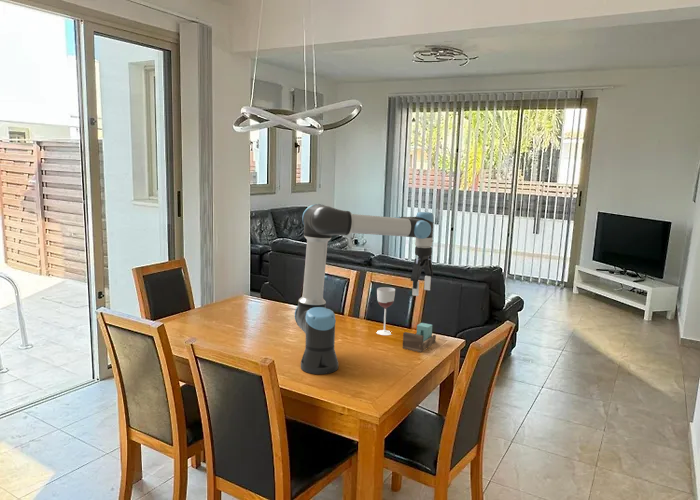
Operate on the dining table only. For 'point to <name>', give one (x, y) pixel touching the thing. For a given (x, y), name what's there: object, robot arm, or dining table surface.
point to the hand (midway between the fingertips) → (421, 292)
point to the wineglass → (385, 303)
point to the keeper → (424, 330)
